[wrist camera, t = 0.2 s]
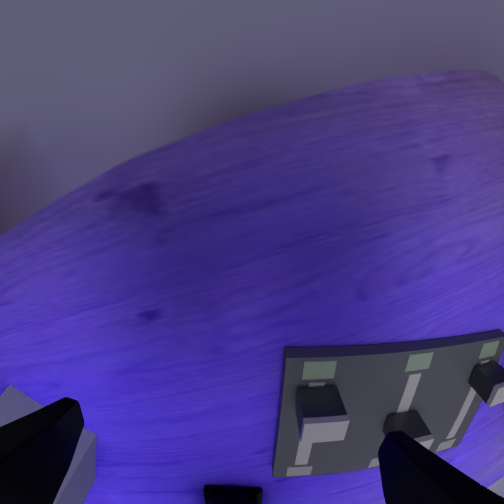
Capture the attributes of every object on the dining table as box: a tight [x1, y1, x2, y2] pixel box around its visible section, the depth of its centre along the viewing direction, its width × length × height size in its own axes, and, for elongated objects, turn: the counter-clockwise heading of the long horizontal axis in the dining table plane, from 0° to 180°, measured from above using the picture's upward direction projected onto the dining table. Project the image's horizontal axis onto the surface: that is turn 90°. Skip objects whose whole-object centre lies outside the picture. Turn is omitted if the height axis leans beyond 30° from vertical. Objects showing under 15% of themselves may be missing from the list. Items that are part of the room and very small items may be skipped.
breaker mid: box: [383, 410, 435, 449], centre depth 20 cm, size 2×3×4 cm, turn 89°
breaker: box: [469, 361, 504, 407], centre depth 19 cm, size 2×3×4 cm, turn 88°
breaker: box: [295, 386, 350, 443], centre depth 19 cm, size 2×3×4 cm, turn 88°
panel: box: [272, 330, 504, 477], centre depth 23 cm, size 15×22×2 cm
